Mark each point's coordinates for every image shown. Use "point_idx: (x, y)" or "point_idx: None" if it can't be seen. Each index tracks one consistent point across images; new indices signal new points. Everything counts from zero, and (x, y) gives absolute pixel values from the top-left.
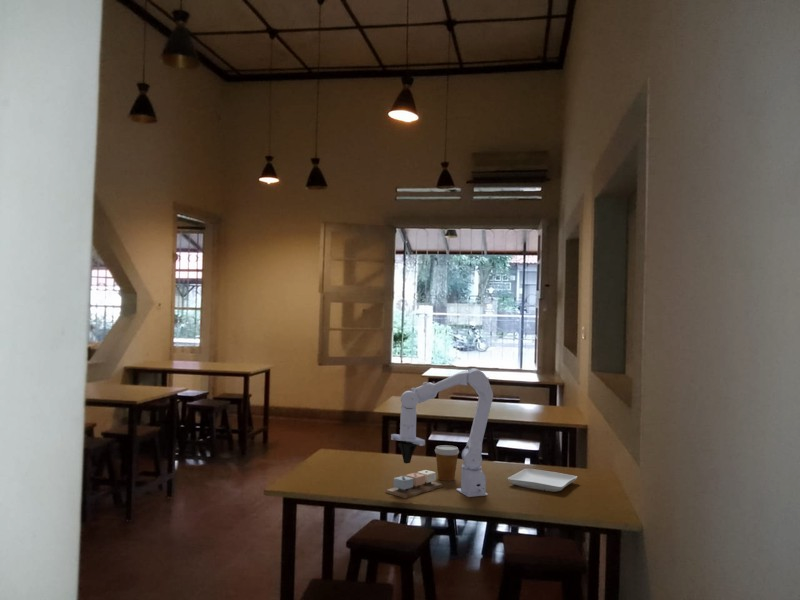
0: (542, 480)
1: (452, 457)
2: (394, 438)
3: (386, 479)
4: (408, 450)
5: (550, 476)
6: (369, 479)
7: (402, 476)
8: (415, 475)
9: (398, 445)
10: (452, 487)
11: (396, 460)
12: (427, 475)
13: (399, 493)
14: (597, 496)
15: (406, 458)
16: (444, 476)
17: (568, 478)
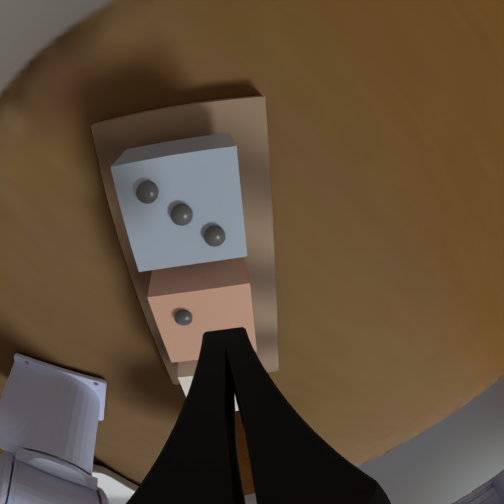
0: (108, 488)
1: None
2: (495, 494)
3: (417, 269)
4: (156, 473)
5: (116, 498)
6: (467, 212)
7: (219, 233)
8: (186, 319)
9: (365, 485)
10: (147, 390)
11: (462, 385)
12: (178, 373)
13: (140, 113)
14: None
15: (195, 371)
16: (239, 423)
17: None
